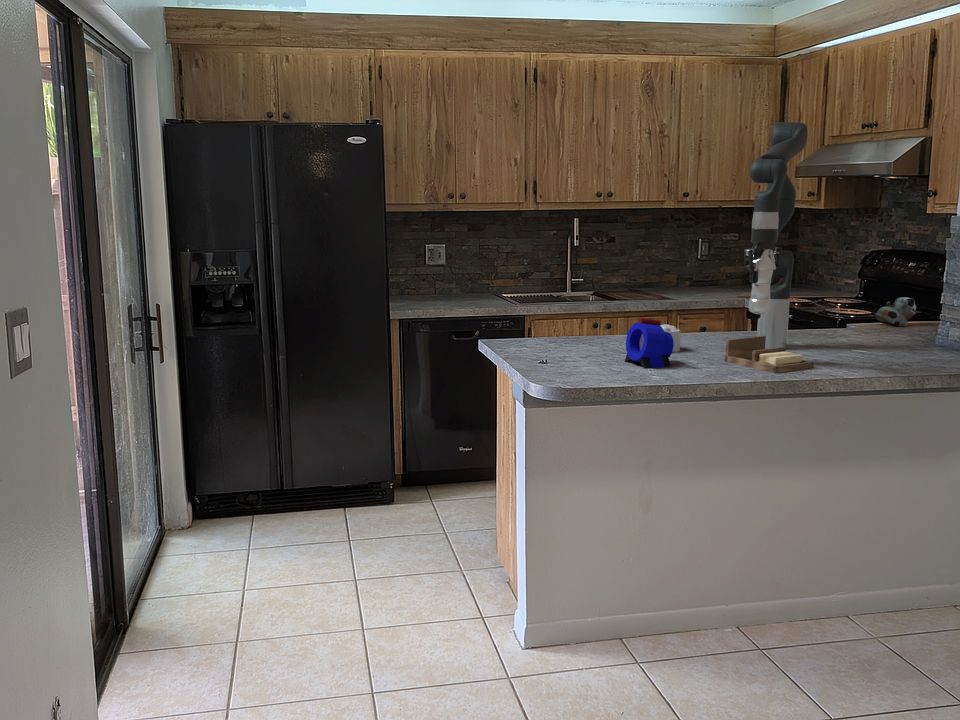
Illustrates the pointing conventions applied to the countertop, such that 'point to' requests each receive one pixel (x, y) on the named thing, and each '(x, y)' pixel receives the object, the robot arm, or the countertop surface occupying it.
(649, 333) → the alarm clock
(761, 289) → the silver metal bottle
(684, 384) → the countertop surface
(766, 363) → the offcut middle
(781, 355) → the offcut top
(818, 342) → the countertop surface
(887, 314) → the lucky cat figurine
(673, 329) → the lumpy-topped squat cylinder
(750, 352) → the walnut rack
